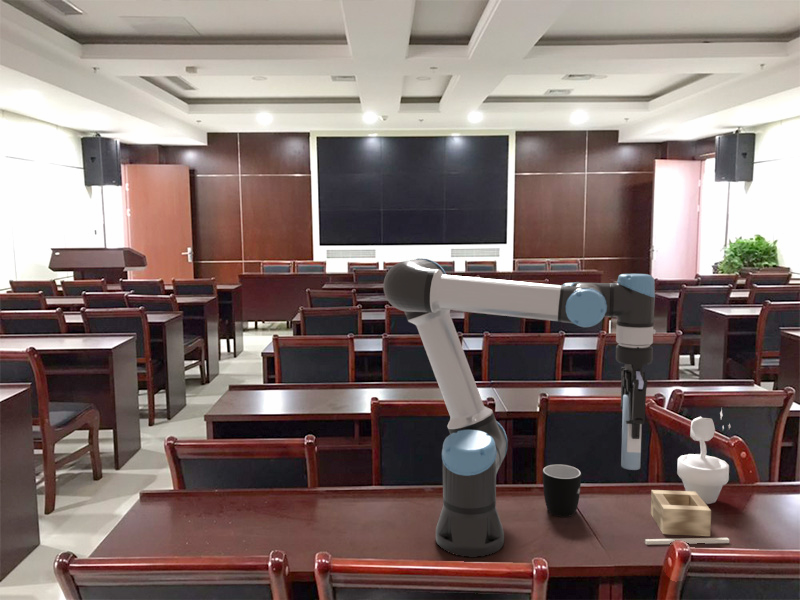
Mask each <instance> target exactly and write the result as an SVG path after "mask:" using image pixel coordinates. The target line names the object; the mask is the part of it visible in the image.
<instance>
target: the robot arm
mask: <svg viewBox="0 0 800 600" xmlns="http://www.w3.org/2000/svg"><path fill="white" fill-rule="evenodd" d="M617 277H618V278H617V281H616V282H610V283H609V282H608V283H605V282H604V283H603V282H602V283H601V282H580V281H576V282H565V283H563V284H561V285H560V284H551V283H550V284H549V283H541V282H540V283H539V282H530V281H529V282H527V281H517V280H507V279H496V278H484V277H474V276H462V275H453V274H452V275H451V274H447V273H446V271H445V270H444V268H443V267H442V266H441V265H440V264H439V263H438V262H436V261H434V260H431V259H428V258H416V259H411V260H405V261H401V262H398V263H395V264H394V265H393V266H392V267H391V268H390V269H388V271H386V274H385V276H384V280H383V287H382V288H383V293H384V295H385V298H386V300H387V301H388V303H389V304H390V305H391V306H392V307H394V308H395V309H397V310H399V311H402V312H404V315H405V317H406V320H407V322H408V323H410V324H413V325H415V327H416V328H417V331H418V334H419V336H420V339H421V341H422V344H423V347H424V350H425V352H426V355H427V358H428V360H429V363H430V366H431V370H432V371H433V375H434V377H435V380H436V382H437V384H438V387H439V390H440V393H441V396H442V398H443V401H444V403H445V407H446V409H447V411H448V414H449V417H450V418H449V421H448V422H447V423H448V424H447V426H446V427H447V430H448V432H449V435H448V436H446V437H445V439H444V441H443V443H442V449H441V460H442V502H443V503H442V504H443V505H442V509H441V511H440V514H439V518H438V522H437V524H436V527H435V542H436V544H437V546H438V545H439V546H440V547H441V548H440V547H439V546H438V547H439V548H440V549H442V548H443V549H444V550H443V549H442V550H443V551H445V550H446V551H449V552H451V553H454V554H457V555H456V556H458V555H462V556H461V557H464V556H469V557H468V558H478V557H477V556H481V557H486V556H485V555H487V556H490V555H493V554H494V553H496V552H499V551H500V550H501V549H502V548H503V546H504V543H505V532H504V528H503V525H502V521H501V519H500V515H499V512H498V510H497V503H496V501H497V487H496V486H497V474H498V471H499V470H500V467H501V465H502V463H503V461H504V459H505V458H506V455H507V451H508V437H507V434H506V431H505V428H504V427H503V425H502V424H501V423H500V422H499V421H497V420H496V417H495V414H494V412H493V409H491V408H489V407H488V406H485V405H484V402H483V399H482V397H481V394H480V391H479V389H478V387H477V384H476V381H475V378H474V376H473V373H472V370H471V368H470V365H469V362H468V359H467V357H466V354H465V351H464V348H463V346H462V343H461V341H460V338H459V336H458V333H457V330H456V327H455V325H454V322H453V318H452V316H451V314H450V312H451V311H454V312H455V311H456V312H467V313H475V314H486V315H494V316H503V317H504V316H505V317H506V316H507V317H514V318H522V319H523V318H525V319H533V320H542V321H553V322H559V323H560V322H561V323H566V324H567V323H568V324H574V325H576V326H578V327H581V328H591V327H594V326H596V325H598V324H599V323H600V322H602V320H603V318H616V328H615V329H616V330H615V333H616V335H615V342H616V343H617V345H616V347H615V361H616V362H618V363H619V364H624V366H621V367H620V375H621V381H620V385H621V387H620V410H621V412H622V414H623V395H626V394H627V395H629V421H626V424H628V433H627V452H638V453H642V428H641V427H643V426H642V425H644V424H645V422H646V404H647V401H646V400H647V388H648V383H649V381H648V380H647V379H646V373H645V371H644V368H643V367H644V366H646V365H647V366H648V365H650V364H652V363H653V359H654V358H653V357H654V355H653V352H654V347H653V346H651V345H652V344H653V343H654V335H655V334H656V332H657V330H656V329H654V323H655V320H654V319H655V304H656V303H655V302H656V300H655V299H656V293H655V291H656V290H655V289H656V287H655V283H656V282H655V278H654V277H653V276H652V275H650V274H647V273H621V274H619V275H618V276H617ZM446 551H445V552H446ZM449 552H448V553H449ZM451 553H450V554H451ZM492 553H493V554H492ZM454 554H453V555H454ZM489 554H490V555H489Z"/></svg>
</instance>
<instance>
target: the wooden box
mask: <svg viewBox="0 0 800 600" xmlns="http://www.w3.org/2000/svg"><path fill="white" fill-rule="evenodd" d="M650 496H651V497H650V516H651V517H652V518H653V520H654V522H655V523H656V525H657V526H658V528H659V530H660V532H661V533H662V535H675V536H696V537H711V521H712V510H711V508H709V506H708V504H705V503H704V501H703V500H702V499H701V498H700V496H699V495H698V494H697V493H696V492H694V491H686V490H663V489H651V491H650Z"/></svg>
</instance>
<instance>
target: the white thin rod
mask: <svg viewBox="0 0 800 600" xmlns="http://www.w3.org/2000/svg"><path fill="white" fill-rule="evenodd" d="M675 540H682V541H685V542H687V543H689V544H690V545H695V544H697V543H705V544H730V538H728V537H700V538H699V537H698V538H697V537H696V538H694V537H693V538H689V537H688V538H652V539H651V538H646V539H645V538H644V543H645V545H650V546H651V545H671V544H670V543H671V542H673V541H675ZM689 544H688V545H689Z"/></svg>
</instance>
